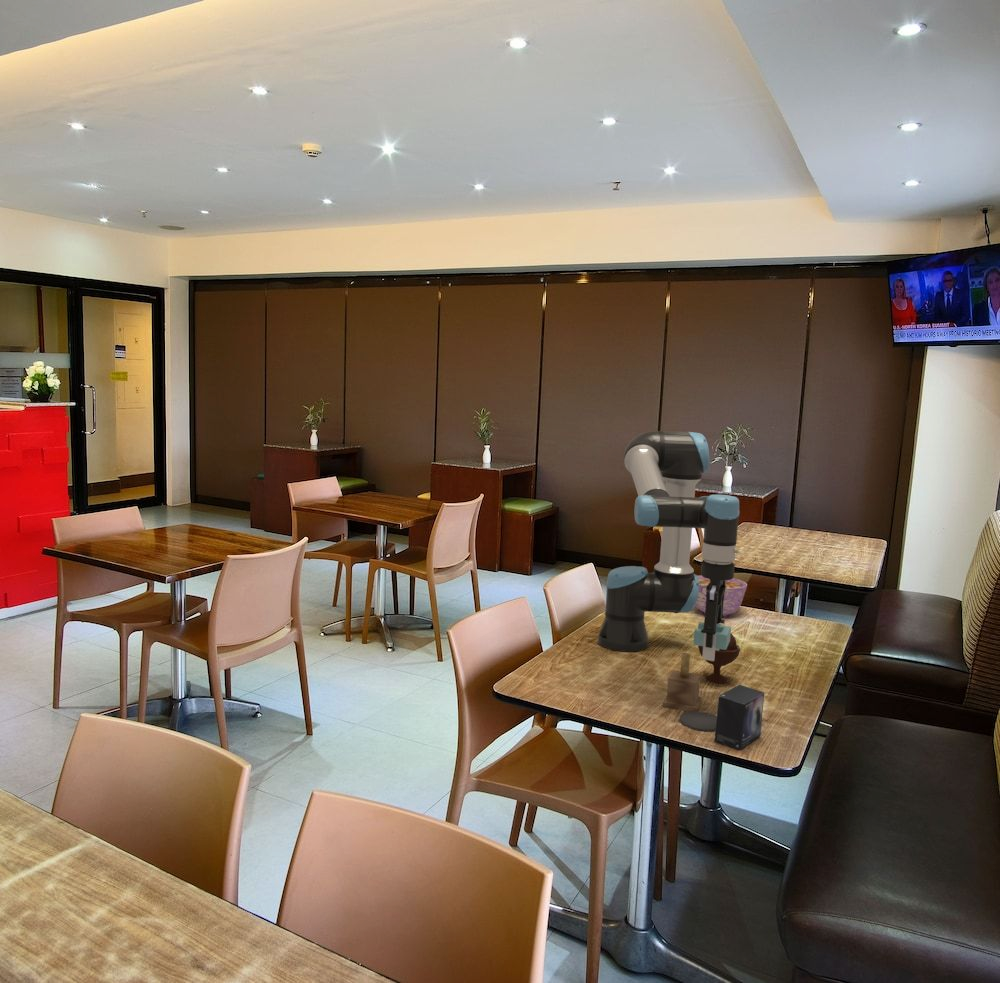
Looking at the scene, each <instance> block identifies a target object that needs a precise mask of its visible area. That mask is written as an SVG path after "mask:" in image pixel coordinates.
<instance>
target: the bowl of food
mask: <svg viewBox="0 0 1000 983" xmlns="http://www.w3.org/2000/svg"><path fill="white" fill-rule="evenodd" d="M697 576H698V578H699V593H698V598H697V602H696V605H695V608H697V609H698V610H700V611H701V612H704V613H705V609H706V596H707V594H706V592H707V591H706V588H707V585H708V584H709V583H710V579H708V578H704V577H703V576H702V575H701V574H700V575H697ZM725 582H726V583H725V585H726V589H725V592H724V604H723V616H724V617H727V616H728V615H731V614H733V613H735V612H737V611H738V610H739V609H740V608H741V605H742V602H743V600H744V597H745V593H746V591H747V587H748V583H747V582H745V581H743V580H741V579H738V578H734V577H733V579H731V580H726V581H725ZM704 613H703V614H704Z"/></svg>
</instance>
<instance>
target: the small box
mask: <svg viewBox="0 0 1000 983" xmlns="http://www.w3.org/2000/svg"><path fill="white" fill-rule="evenodd" d="M764 698H765V692H764V691H761V690H758V689H755V688H751V687H748V686H745V685H742V684H738V685H736V686H735V687H733V688H730V689H728V690H727V691H725V692H722V693H721V694H719V695H718V698H717V699H718V700H717V711H716V716H717V721H716V730H715V731H714V732H715V733H714V740H713V741H714V742H716V743H719V744H721V745H725V746H727V747H731V748H733V749H736V750H742V749H744V748H746V747H747V746H748V745H749V744H751V743H753V742H754V741H756V740H758V739H759V738H761V735H762V722H763V712H764V710H763V709H764V702H765V699H764Z"/></svg>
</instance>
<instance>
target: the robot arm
mask: <svg viewBox="0 0 1000 983" xmlns="http://www.w3.org/2000/svg"><path fill="white" fill-rule="evenodd" d="M709 450H710V449H709V444H708V441H707V438H706V437H705V435H703V434H702V433H700V432H692V431H675V430H674V431H670V430H669V431H668V430H664V431H663V430H649V431H648V430H647V431H645V432H642V433H640V434H638V435H636V436H635V437H633V438H632V439H631V440H630V441H629V442H628V444H627V445H626V447H625V449H624V452H623V463H624V467H625V469H626V471H627V472H628V473H629V474H631V476H632V480H633V483H634V486H635V489H636V493H637V495H638V496H637V497H636V499H635V502H634V507H633V508H634V514H633V515H634V521H635V523H636V524H637V525H638V526H645V527H650V528H653V527H661V528H662V529H661V539H660V540H661V541H660V551H659V552H660V554H659V555H660V556H659V561H658V562H657V563H656V564H655V565H654V566H653V567H654V568H653V572H648V569H647V568H646V567H644V566H640V565H639V566H636V565H629V566H628V565H626V566H620V567H616V568H613V569H612V570H610V571H609V573H608V574H607V579H606V580H607V581H606V585H605V587H606V597H605V612H604V613H605V614H604V619H603V622H602V625H601V626H600V629H599V632H598V635H597V643H598V645H600V646H602V647H603V648H606V649H609V650H612V651H619V652H640V651H644V650H647V649H648V648H649V642H650V640H649V634H648V631H647V628H646V623H645V612H649V613H651V612H653V613H655V612H656V613H670V614H671V613H672V614H673V613H674V614H684V613H685V614H687V613H690V612H691V611H693V609H694V608H696V606H695V605H696V602H697V598H698V593H699V578H698V576H699V575H697V574H695V573H694V572H695V570H694V568H693V567H692V565H691V564H690V557H691V556H690V555H691V546H692V545H691V544H692V532H693V529H703V541H702V548H701V558H702V559H703V560H701V565H700V568H701V569H700V575H702V576H703V577H704V578H708V579H710V583H709V584H708V585H707V588H706V591H707V592H706V594H707V596H706V609H705V614H704V619H703V620H704V622H703V623H704V629H703V630H701V633H704V642H703V655H702V656H701V657H702V658H701V659H702V660H704V661H706V660H710V661H714V659H715V650H717V651H719V649H717V648H715V646H716V634H717V633H716V625H723V624H725V621H726V620H725V619H723V618H724V617H723V604H724V592H725V589H726V585H725V583H726V582H725V581H726V580H731V579H733V578H734V576H735V566H736V565H735V563H734V562H735V560H736V554H738V553H739V549H738V548H736V547H737V540H738V528H739V518H740V512H741V511H740V500H739V498H738V497H737V496H732V495H728V494H710V495H708V496H707V495H704V496H700V497H696V496H695V494H696V485H697V484H698V483H699V482H701V481H702V476H703V475H702V474H706V473H707V472H708V471H709V467H710V462H711V461H710V460H711V459H710V451H709ZM707 627H708V628H707Z"/></svg>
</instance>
